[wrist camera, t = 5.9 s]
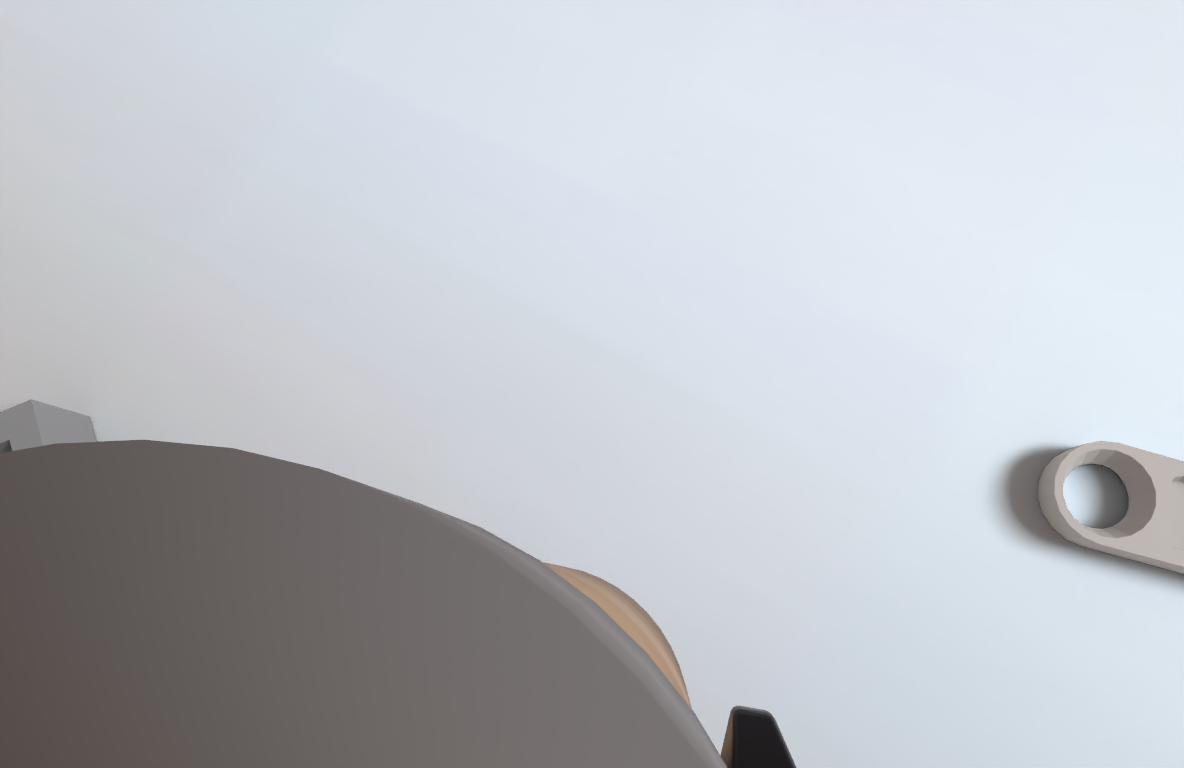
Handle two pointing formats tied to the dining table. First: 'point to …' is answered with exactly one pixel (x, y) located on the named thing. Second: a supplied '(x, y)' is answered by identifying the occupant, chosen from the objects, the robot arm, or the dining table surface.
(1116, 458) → the adjustable wrench
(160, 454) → the walnut canister
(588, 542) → the dining table surface
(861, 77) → the dining table surface
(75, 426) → the tray
